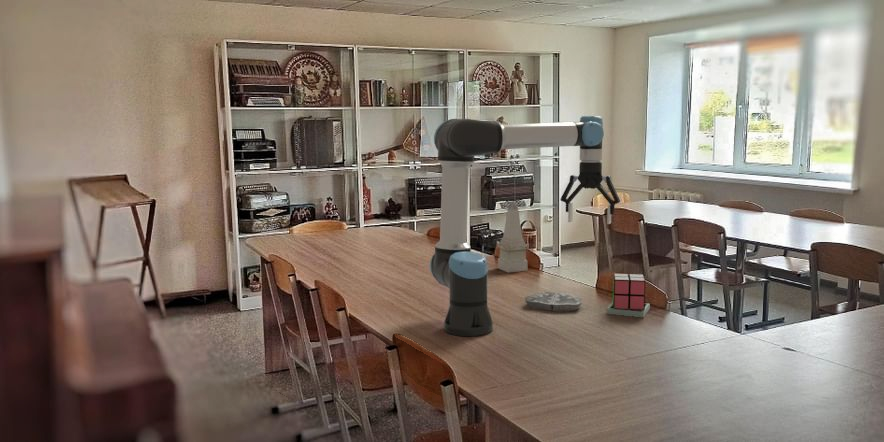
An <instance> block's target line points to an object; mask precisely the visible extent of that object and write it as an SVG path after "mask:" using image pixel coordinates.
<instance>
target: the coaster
mask: <svg viewBox="0 0 884 442" xmlns="http://www.w3.org/2000/svg"><path fill="white" fill-rule="evenodd" d="M650 306H651V304H650V303H647V302H645V310H630V309H628V310H626V309H614V308H613V301H612V302H611V303H610V304H609V305H608V307H607V308H606V315H614V314H615V316H623V315H624V317H632V316H634V318H635V317H636V318H642V317H643V319H644V318H645V316H646V315H647V313H648V312H649V310H650V308H651V307H650Z"/></svg>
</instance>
